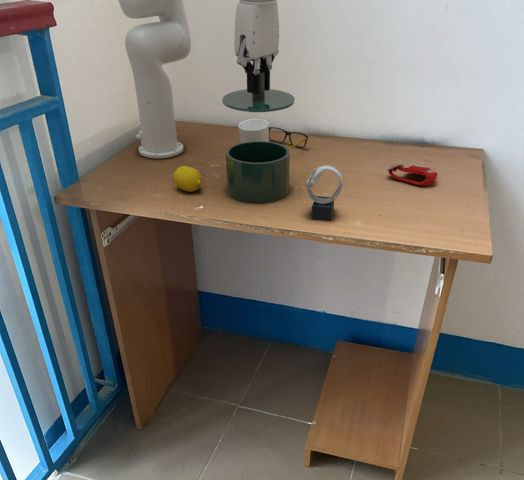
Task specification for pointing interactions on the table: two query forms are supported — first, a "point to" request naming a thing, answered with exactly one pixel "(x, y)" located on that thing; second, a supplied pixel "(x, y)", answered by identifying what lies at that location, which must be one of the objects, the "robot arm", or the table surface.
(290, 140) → the eyeglasses
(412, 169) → the tracker holder
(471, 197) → the table surface
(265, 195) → the pot
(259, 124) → the white cup
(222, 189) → the table surface
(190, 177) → the lemon
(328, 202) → the watch
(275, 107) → the lid
